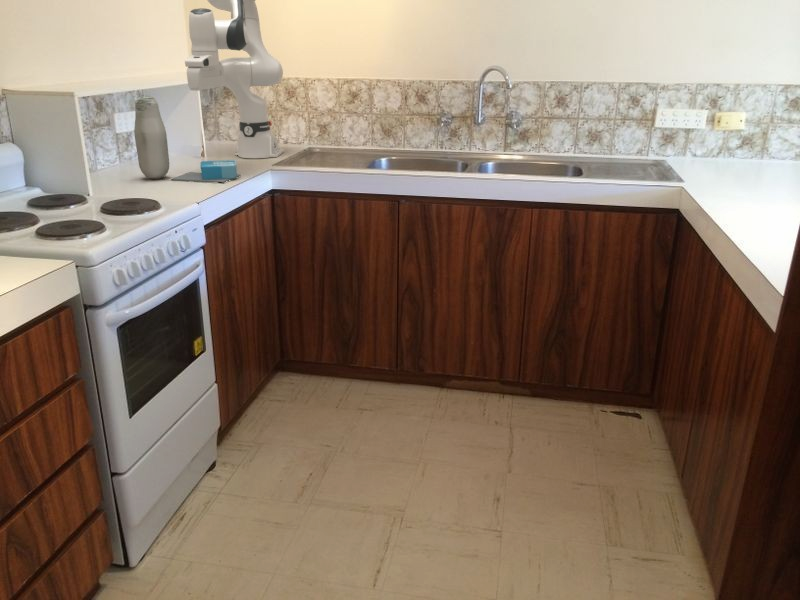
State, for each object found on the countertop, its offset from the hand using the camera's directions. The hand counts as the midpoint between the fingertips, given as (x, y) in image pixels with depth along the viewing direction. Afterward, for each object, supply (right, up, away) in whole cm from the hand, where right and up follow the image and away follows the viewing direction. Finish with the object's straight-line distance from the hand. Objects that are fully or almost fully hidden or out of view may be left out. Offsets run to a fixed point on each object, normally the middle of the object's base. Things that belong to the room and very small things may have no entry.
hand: (209, 102), depth 235 cm
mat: (-2, -26, +2) cm, 26 cm away
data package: (+1, -21, +8) cm, 23 cm away
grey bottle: (-19, -27, +2) cm, 33 cm away
